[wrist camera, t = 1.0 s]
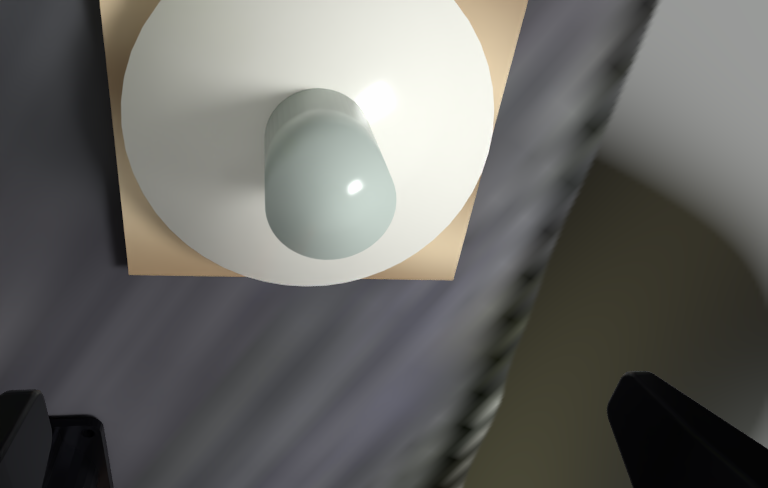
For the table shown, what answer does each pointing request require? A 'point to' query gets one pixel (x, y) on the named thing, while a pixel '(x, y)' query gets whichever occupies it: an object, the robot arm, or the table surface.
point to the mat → (175, 258)
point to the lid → (307, 130)
